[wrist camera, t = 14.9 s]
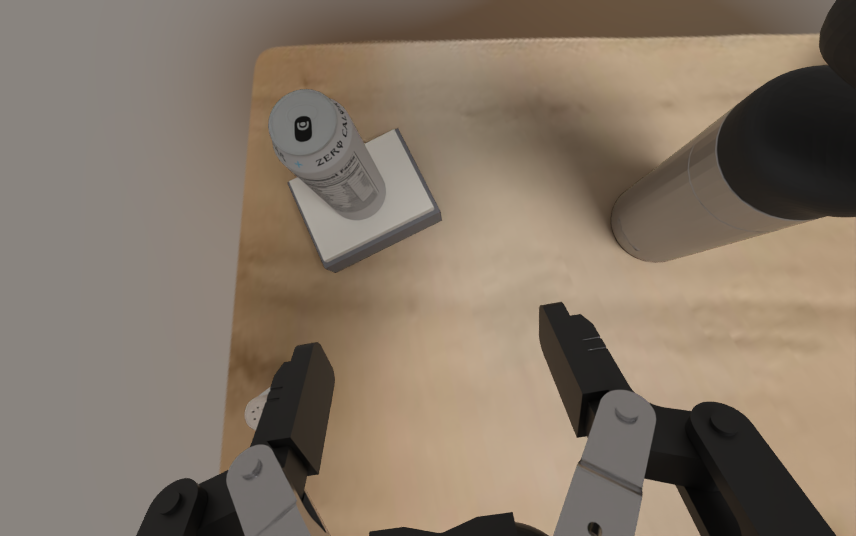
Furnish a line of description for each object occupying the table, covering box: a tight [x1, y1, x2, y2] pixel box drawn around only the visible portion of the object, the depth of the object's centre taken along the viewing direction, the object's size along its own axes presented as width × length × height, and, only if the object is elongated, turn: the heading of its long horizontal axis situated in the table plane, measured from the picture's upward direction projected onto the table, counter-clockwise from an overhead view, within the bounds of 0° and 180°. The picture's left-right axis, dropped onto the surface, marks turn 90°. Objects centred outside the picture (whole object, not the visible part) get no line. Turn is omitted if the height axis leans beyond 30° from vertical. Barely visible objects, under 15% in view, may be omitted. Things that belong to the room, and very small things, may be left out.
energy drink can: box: [268, 89, 386, 220], centre depth 32 cm, size 6×6×15 cm
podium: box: [288, 128, 442, 273], centre depth 42 cm, size 14×11×4 cm
